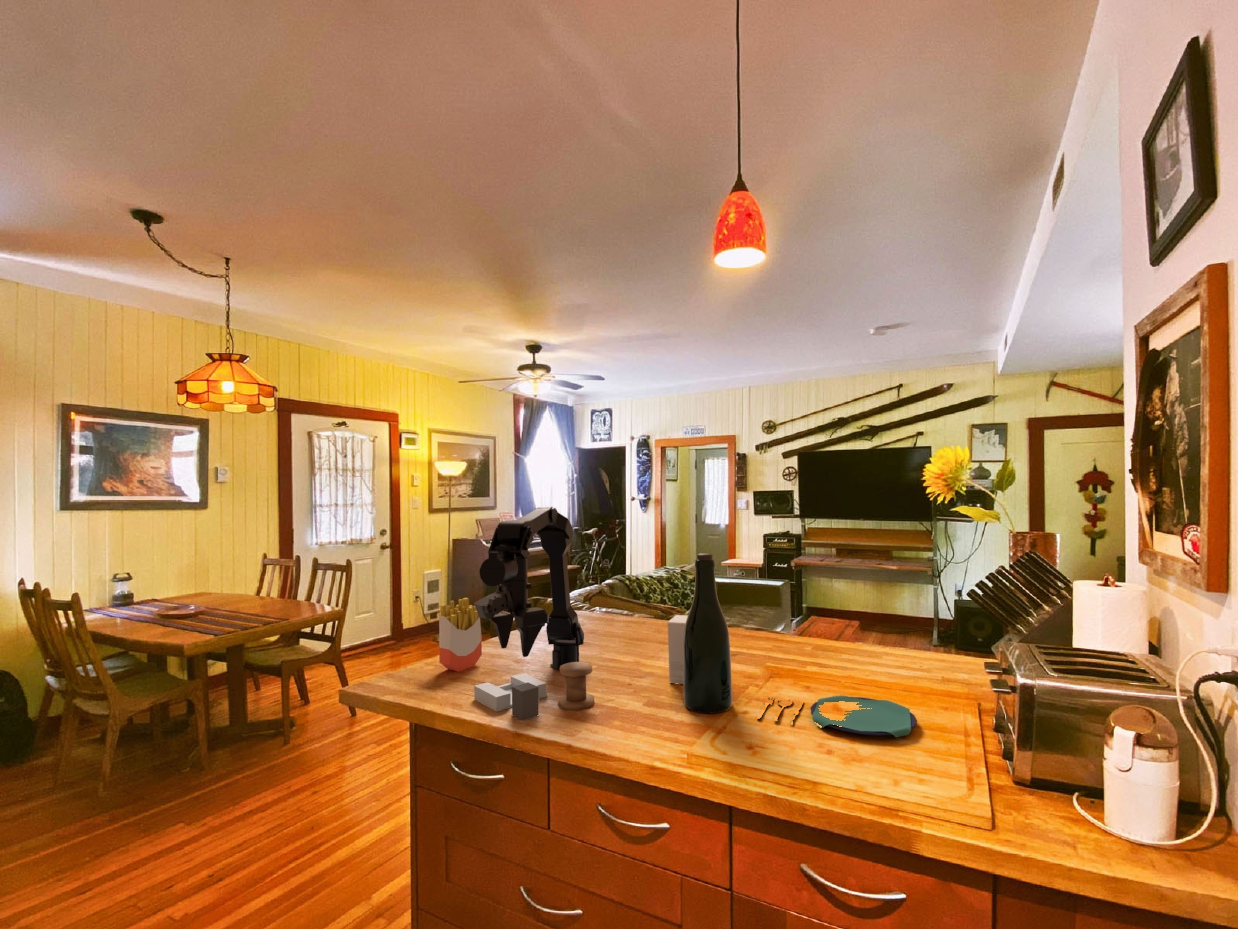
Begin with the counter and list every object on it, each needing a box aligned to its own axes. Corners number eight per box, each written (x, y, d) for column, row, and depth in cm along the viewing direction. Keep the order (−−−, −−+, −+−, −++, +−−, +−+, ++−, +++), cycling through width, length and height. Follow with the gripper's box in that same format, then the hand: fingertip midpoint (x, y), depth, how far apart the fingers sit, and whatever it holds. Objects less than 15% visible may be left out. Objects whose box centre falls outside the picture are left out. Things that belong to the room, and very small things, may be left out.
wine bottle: (702, 718, 119) (698, 557, 120) (674, 702, 128) (671, 552, 130) (742, 709, 124) (738, 554, 125) (712, 694, 133) (709, 549, 135)
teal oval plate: (919, 751, 103) (919, 738, 104) (751, 727, 116) (751, 715, 116) (915, 712, 121) (915, 701, 122) (770, 695, 134) (770, 685, 134)
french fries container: (482, 664, 159) (482, 598, 159) (450, 675, 150) (450, 605, 151) (471, 661, 161) (471, 596, 162) (439, 672, 153) (439, 603, 153)
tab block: (528, 710, 125) (528, 682, 125) (538, 715, 122) (538, 687, 122) (512, 715, 122) (511, 686, 123) (522, 721, 119) (521, 691, 120)
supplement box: (711, 675, 146) (710, 616, 147) (705, 687, 138) (703, 624, 138) (676, 672, 149) (675, 614, 150) (668, 684, 140) (666, 621, 141)
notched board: (523, 686, 141) (523, 673, 141) (546, 696, 133) (546, 683, 133) (474, 699, 132) (474, 685, 132) (496, 711, 125) (496, 697, 125)
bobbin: (579, 694, 134) (579, 659, 135) (601, 703, 128) (601, 667, 129) (551, 703, 129) (550, 666, 129) (572, 713, 123) (572, 675, 123)
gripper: (460, 578, 127) (460, 650, 127) (501, 588, 113) (501, 669, 112) (505, 573, 135) (505, 641, 134) (549, 582, 120) (550, 658, 119)
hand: (514, 652), depth 125 cm, fingers open, 9 cm apart
